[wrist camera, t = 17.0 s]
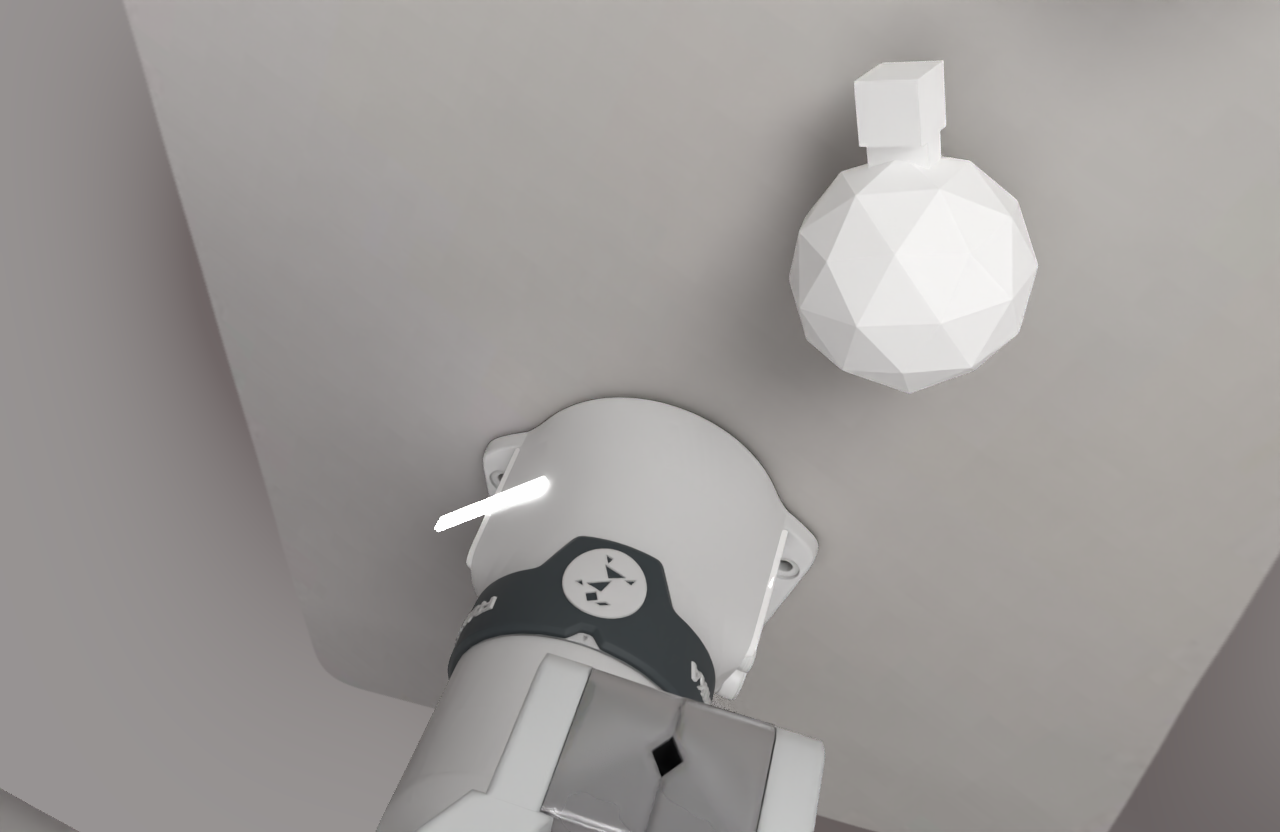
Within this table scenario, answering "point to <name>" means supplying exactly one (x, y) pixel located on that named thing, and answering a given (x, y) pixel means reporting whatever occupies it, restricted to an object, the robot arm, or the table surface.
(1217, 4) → the table surface
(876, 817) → the table surface
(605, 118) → the table surface
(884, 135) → the perfume bottle
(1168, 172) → the table surface
